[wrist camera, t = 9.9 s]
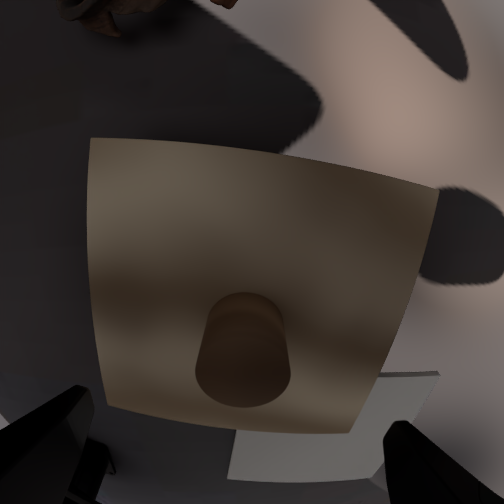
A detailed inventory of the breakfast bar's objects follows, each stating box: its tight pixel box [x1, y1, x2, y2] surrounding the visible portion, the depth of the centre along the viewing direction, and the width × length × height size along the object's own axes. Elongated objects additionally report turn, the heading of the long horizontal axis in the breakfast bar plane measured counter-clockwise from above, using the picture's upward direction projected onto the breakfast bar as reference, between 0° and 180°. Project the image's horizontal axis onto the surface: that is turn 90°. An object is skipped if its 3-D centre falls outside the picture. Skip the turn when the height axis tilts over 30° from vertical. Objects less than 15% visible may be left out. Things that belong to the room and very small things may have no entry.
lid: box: [87, 138, 440, 434], centre depth 12 cm, size 14×14×5 cm
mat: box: [227, 371, 440, 482], centre depth 23 cm, size 16×16×1 cm
